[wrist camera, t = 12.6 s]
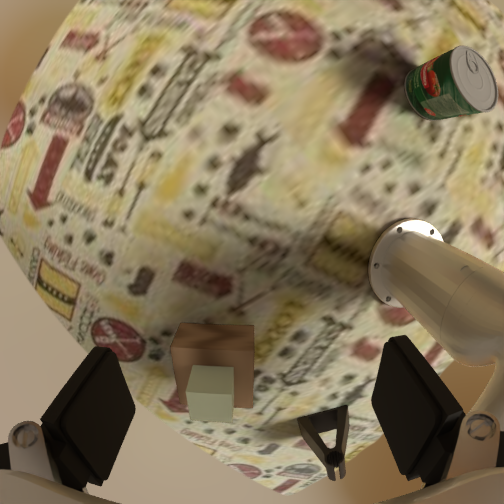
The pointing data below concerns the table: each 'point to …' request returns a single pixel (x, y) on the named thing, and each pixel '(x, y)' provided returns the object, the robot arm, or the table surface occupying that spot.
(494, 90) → the canned tomato
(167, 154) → the table surface
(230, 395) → the sage block
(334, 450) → the phone stand
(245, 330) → the walnut block
